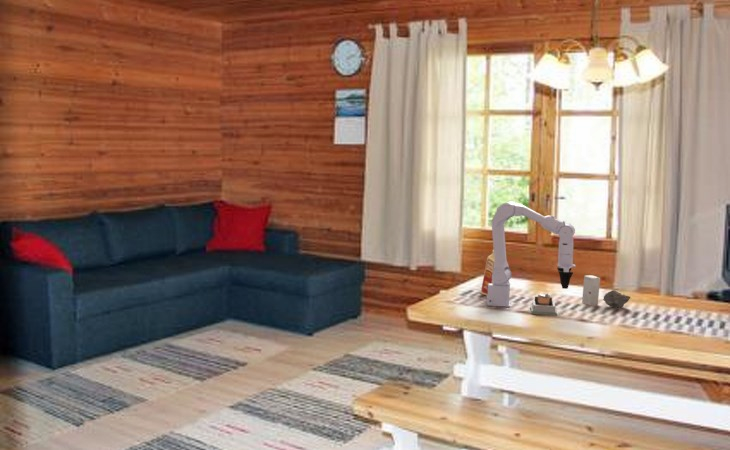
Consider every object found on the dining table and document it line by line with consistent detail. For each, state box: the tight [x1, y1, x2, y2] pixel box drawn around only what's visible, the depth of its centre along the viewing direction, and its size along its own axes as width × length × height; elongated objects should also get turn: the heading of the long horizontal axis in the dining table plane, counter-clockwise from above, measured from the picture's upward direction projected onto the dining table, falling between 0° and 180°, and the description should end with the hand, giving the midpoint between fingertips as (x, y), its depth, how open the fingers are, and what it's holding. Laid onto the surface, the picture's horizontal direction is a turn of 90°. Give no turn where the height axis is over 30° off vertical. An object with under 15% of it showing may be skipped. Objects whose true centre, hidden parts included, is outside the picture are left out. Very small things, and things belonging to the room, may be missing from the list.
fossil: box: [603, 289, 631, 309], centre depth 297 cm, size 11×9×8 cm
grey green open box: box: [530, 295, 558, 316], centre depth 290 cm, size 10×11×5 cm
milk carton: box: [480, 249, 495, 297], centre depth 319 cm, size 9×9×20 cm
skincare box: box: [581, 274, 601, 306], centre depth 304 cm, size 6×4×12 cm
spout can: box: [537, 293, 551, 306], centre depth 289 cm, size 5×5×6 cm
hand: (564, 286), depth 288 cm, fingers open, 7 cm apart
